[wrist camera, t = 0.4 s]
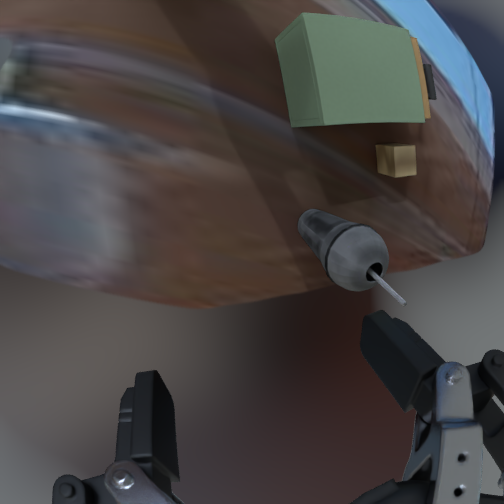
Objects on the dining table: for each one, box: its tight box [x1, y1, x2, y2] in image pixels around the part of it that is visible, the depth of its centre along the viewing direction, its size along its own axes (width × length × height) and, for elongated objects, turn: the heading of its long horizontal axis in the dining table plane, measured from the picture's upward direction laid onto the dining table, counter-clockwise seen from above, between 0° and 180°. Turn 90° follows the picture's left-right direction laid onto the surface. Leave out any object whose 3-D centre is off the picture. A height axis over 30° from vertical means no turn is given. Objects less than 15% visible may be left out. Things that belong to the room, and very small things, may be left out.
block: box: [376, 143, 416, 178], centre depth 36 cm, size 4×4×4 cm
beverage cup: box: [298, 209, 407, 307], centre depth 30 cm, size 7×7×20 cm
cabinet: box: [275, 13, 425, 128], centre depth 27 cm, size 15×13×10 cm
